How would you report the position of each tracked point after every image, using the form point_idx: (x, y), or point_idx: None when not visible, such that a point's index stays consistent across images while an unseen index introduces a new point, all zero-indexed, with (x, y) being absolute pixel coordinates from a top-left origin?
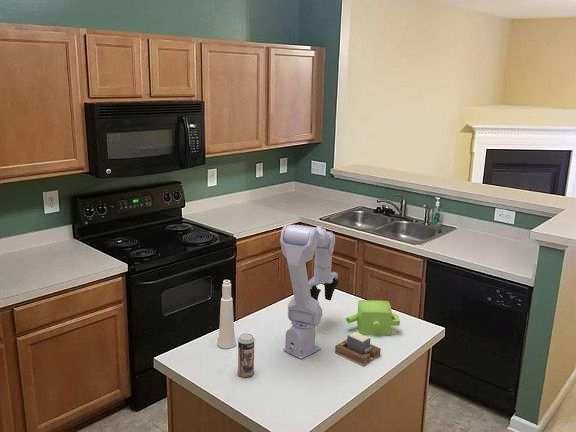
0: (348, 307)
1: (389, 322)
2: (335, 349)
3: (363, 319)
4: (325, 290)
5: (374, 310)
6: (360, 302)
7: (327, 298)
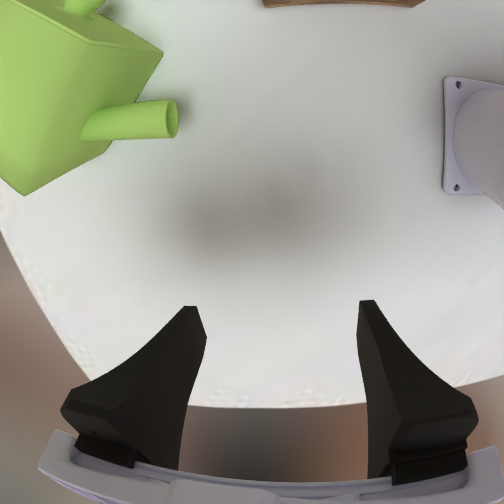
0: (73, 272)
1: None
2: (417, 2)
3: (110, 38)
4: (187, 390)
5: (20, 25)
6: (24, 164)
7: (199, 329)
